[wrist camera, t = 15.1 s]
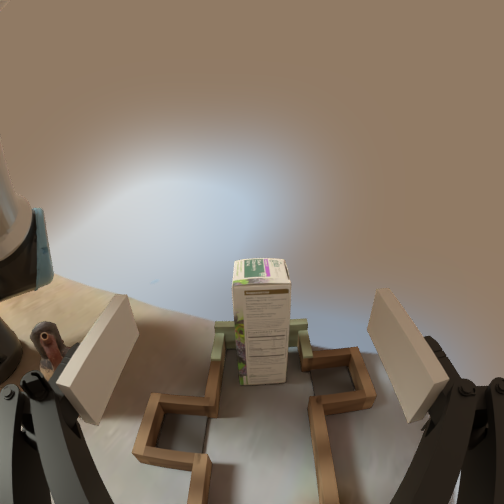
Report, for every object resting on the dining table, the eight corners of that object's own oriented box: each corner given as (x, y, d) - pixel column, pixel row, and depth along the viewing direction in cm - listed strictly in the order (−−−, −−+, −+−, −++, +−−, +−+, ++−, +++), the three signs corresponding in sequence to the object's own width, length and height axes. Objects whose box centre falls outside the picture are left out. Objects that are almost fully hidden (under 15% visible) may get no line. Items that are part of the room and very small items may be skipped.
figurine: (94, 370, 32) (61, 300, 27) (110, 403, 27) (70, 329, 22) (54, 387, 27) (15, 319, 23) (65, 422, 22) (15, 351, 18)
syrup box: (240, 355, 36) (230, 258, 30) (283, 352, 36) (285, 255, 30) (239, 386, 31) (228, 284, 25) (288, 383, 31) (293, 281, 25)
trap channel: (400, 509, 13) (418, 498, 11) (127, 514, 14) (108, 504, 12) (345, 336, 38) (349, 315, 36) (178, 342, 39) (172, 320, 37)
